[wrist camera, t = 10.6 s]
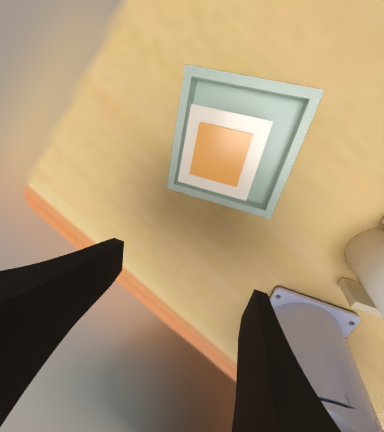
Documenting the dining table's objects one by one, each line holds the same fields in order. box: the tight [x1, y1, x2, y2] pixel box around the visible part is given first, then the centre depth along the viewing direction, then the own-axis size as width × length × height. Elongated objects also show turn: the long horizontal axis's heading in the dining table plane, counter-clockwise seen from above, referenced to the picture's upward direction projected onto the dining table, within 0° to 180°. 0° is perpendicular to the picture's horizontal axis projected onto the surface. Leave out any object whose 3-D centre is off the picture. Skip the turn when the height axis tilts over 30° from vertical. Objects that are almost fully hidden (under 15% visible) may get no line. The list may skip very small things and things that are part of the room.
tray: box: [166, 64, 324, 219], centre depth 17 cm, size 9×9×2 cm
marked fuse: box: [178, 104, 273, 201], centre depth 14 cm, size 4×4×7 cm
